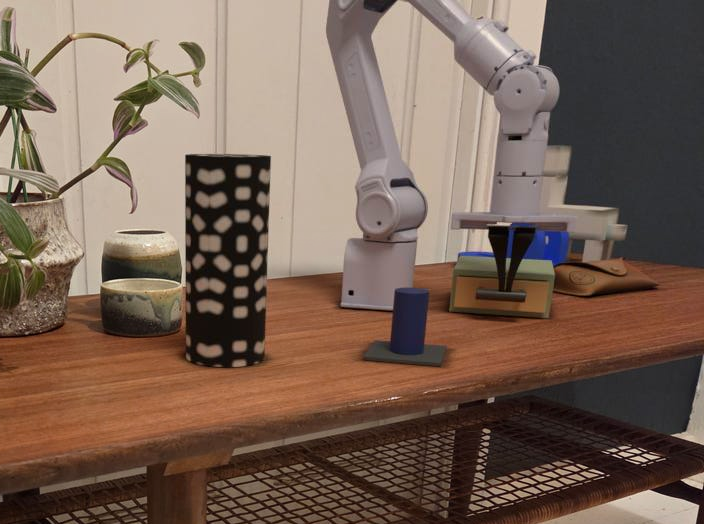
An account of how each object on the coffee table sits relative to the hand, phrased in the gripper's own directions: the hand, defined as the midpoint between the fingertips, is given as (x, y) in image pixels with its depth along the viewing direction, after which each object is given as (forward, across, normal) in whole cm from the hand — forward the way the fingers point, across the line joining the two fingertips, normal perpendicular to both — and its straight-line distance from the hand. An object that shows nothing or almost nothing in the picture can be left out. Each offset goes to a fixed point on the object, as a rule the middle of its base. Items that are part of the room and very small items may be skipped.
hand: (505, 290), depth 110 cm
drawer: (+3, -1, +7) cm, 8 cm away
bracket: (+4, -1, +45) cm, 45 cm away
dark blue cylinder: (+4, -10, -22) cm, 24 cm away
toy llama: (+4, +10, +57) cm, 58 cm away
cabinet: (+4, -1, +11) cm, 12 cm away
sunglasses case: (+4, +14, +31) cm, 35 cm away
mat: (+4, -10, -22) cm, 24 cm away
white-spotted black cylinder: (+4, -28, -30) cm, 41 cm away
